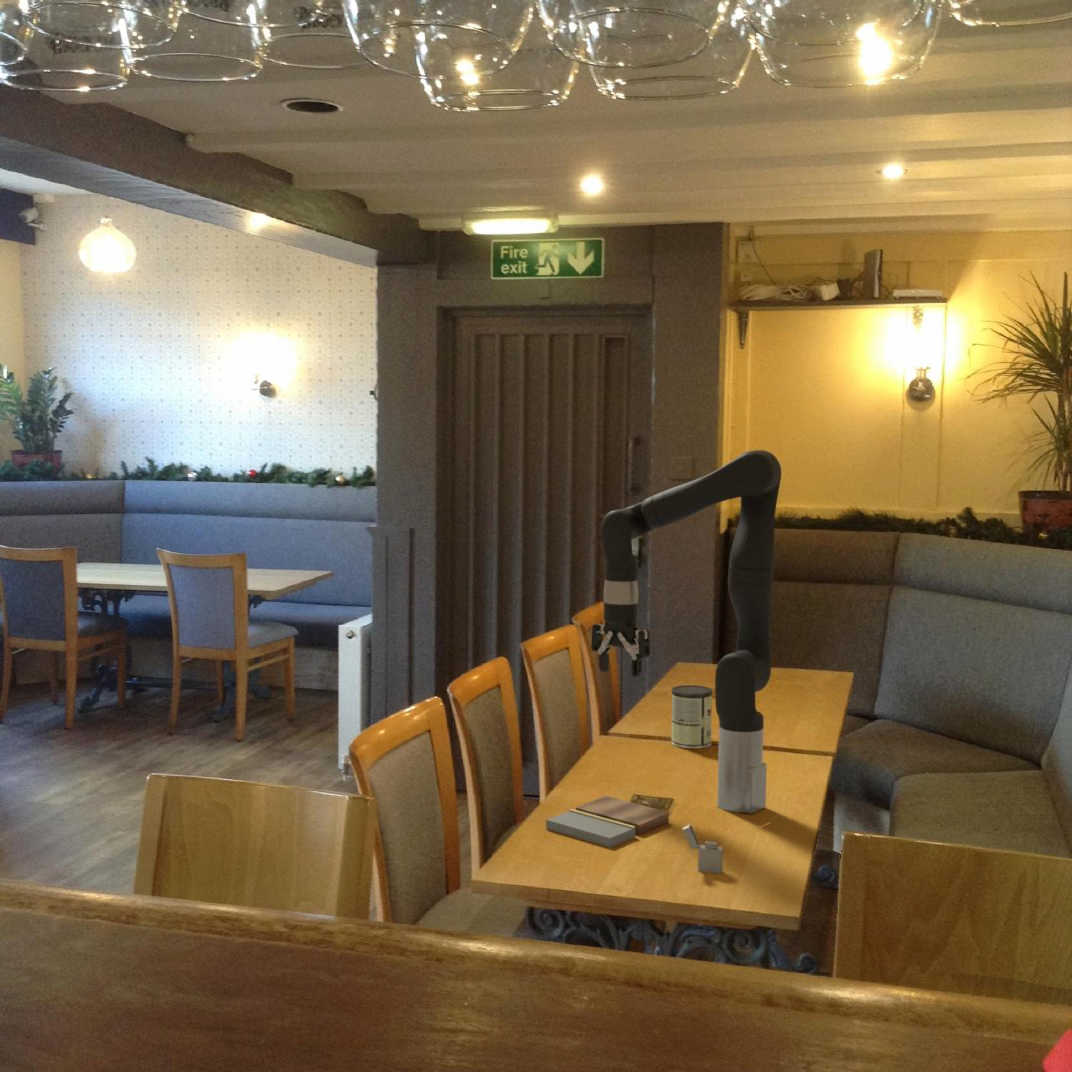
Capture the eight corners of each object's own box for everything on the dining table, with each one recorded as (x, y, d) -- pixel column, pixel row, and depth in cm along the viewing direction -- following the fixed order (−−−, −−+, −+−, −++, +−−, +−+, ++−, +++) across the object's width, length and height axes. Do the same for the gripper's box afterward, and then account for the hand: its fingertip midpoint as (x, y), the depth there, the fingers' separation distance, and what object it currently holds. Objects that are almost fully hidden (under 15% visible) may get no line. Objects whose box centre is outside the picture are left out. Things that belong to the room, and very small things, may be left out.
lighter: (722, 870, 213) (723, 827, 213) (720, 873, 212) (721, 830, 211) (683, 865, 216) (684, 823, 215) (681, 868, 214) (682, 825, 213)
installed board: (635, 837, 230) (635, 826, 230) (610, 848, 224) (610, 836, 224) (571, 819, 241) (571, 808, 241) (546, 829, 235) (546, 818, 235)
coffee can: (670, 737, 306) (671, 684, 305) (710, 739, 305) (711, 685, 304) (670, 748, 296) (671, 693, 295) (712, 749, 295) (713, 694, 294)
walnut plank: (668, 821, 239) (668, 812, 239) (639, 834, 231) (639, 825, 231) (605, 805, 249) (605, 795, 249) (576, 817, 242) (576, 807, 242)
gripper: (657, 602, 255) (656, 675, 257) (605, 595, 265) (604, 667, 266) (637, 605, 250) (636, 681, 251) (584, 599, 259) (583, 672, 260)
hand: (619, 673), depth 259 cm, fingers open, 8 cm apart
